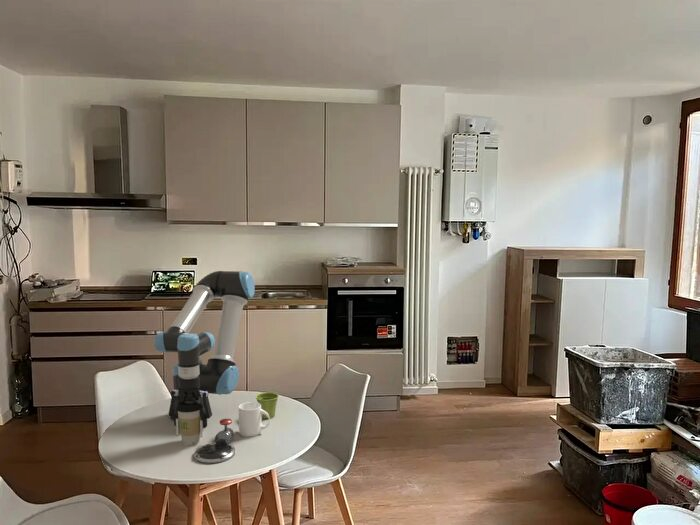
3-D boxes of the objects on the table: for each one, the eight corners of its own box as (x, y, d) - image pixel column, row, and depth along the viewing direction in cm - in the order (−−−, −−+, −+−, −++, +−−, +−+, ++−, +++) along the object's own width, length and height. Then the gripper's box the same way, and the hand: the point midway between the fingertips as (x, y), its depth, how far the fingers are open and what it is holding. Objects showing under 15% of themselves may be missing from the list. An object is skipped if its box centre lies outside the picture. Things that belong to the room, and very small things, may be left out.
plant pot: (264, 410, 230) (264, 391, 229) (283, 414, 226) (282, 394, 225) (251, 418, 221) (251, 398, 221) (270, 422, 217) (270, 401, 217)
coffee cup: (180, 436, 203) (179, 398, 202) (206, 435, 204) (205, 397, 203) (174, 447, 194) (173, 407, 192) (202, 446, 195) (200, 406, 193)
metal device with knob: (210, 439, 202) (210, 417, 201) (246, 441, 200) (245, 419, 199) (187, 464, 182) (186, 439, 182) (226, 467, 180) (225, 442, 180)
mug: (267, 437, 202) (267, 410, 201) (236, 436, 203) (235, 409, 202) (272, 428, 211) (271, 402, 210) (242, 427, 212) (241, 401, 211)
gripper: (156, 378, 194) (159, 437, 197) (212, 380, 191) (214, 441, 194) (166, 371, 202) (168, 429, 204) (220, 374, 199) (222, 432, 201)
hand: (190, 435), depth 199 cm, fingers closed on coffee cup, 9 cm apart
